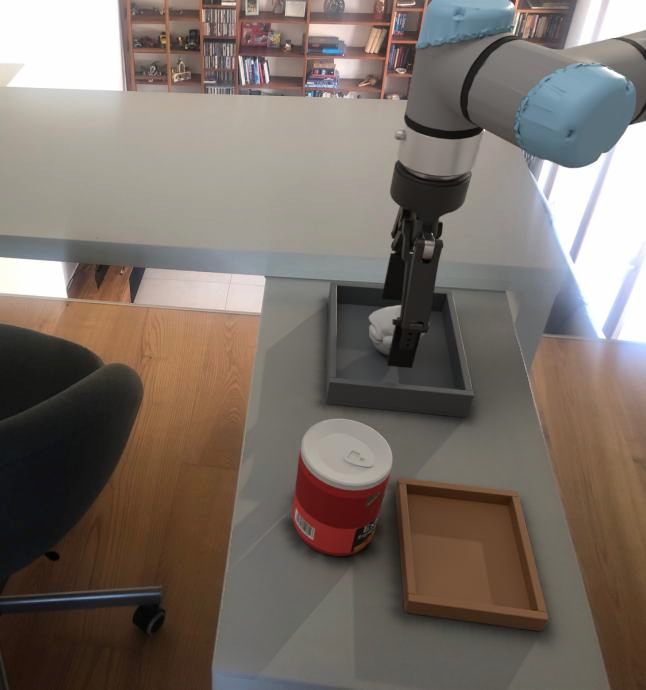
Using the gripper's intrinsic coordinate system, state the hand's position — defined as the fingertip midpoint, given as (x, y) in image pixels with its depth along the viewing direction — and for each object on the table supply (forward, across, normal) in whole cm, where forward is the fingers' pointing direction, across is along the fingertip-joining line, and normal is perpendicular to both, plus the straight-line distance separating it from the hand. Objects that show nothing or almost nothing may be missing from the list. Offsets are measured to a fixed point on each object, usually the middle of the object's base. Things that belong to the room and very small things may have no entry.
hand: (395, 329), depth 84 cm
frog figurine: (+4, 0, 0) cm, 4 cm away
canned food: (+4, +26, -7) cm, 28 cm away
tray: (+4, +28, +5) cm, 29 cm away
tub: (+4, 0, 0) cm, 4 cm away
